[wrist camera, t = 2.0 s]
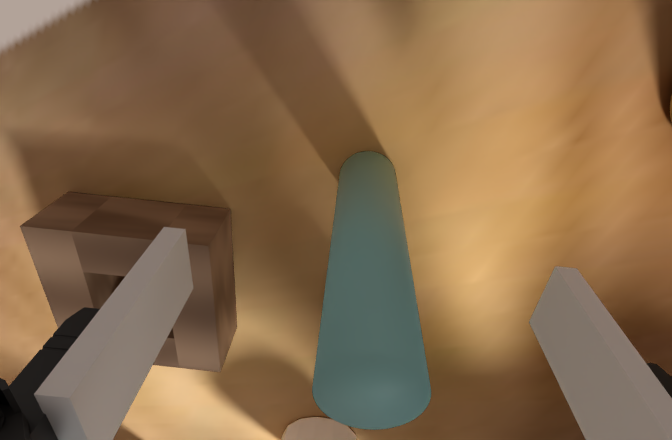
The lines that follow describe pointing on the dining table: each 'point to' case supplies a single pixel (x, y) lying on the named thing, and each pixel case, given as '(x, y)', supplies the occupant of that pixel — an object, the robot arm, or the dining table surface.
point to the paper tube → (671, 108)
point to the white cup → (317, 430)
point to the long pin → (370, 307)
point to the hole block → (122, 254)
